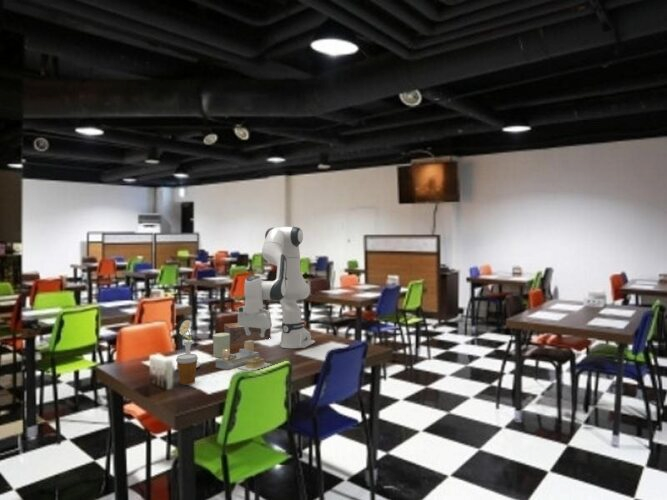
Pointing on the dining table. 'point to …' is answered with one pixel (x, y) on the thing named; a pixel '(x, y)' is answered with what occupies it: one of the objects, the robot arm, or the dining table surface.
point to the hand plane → (237, 356)
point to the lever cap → (255, 362)
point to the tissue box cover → (244, 333)
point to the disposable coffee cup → (187, 368)
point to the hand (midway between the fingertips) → (255, 336)
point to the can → (220, 343)
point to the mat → (254, 368)
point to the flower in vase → (187, 343)
